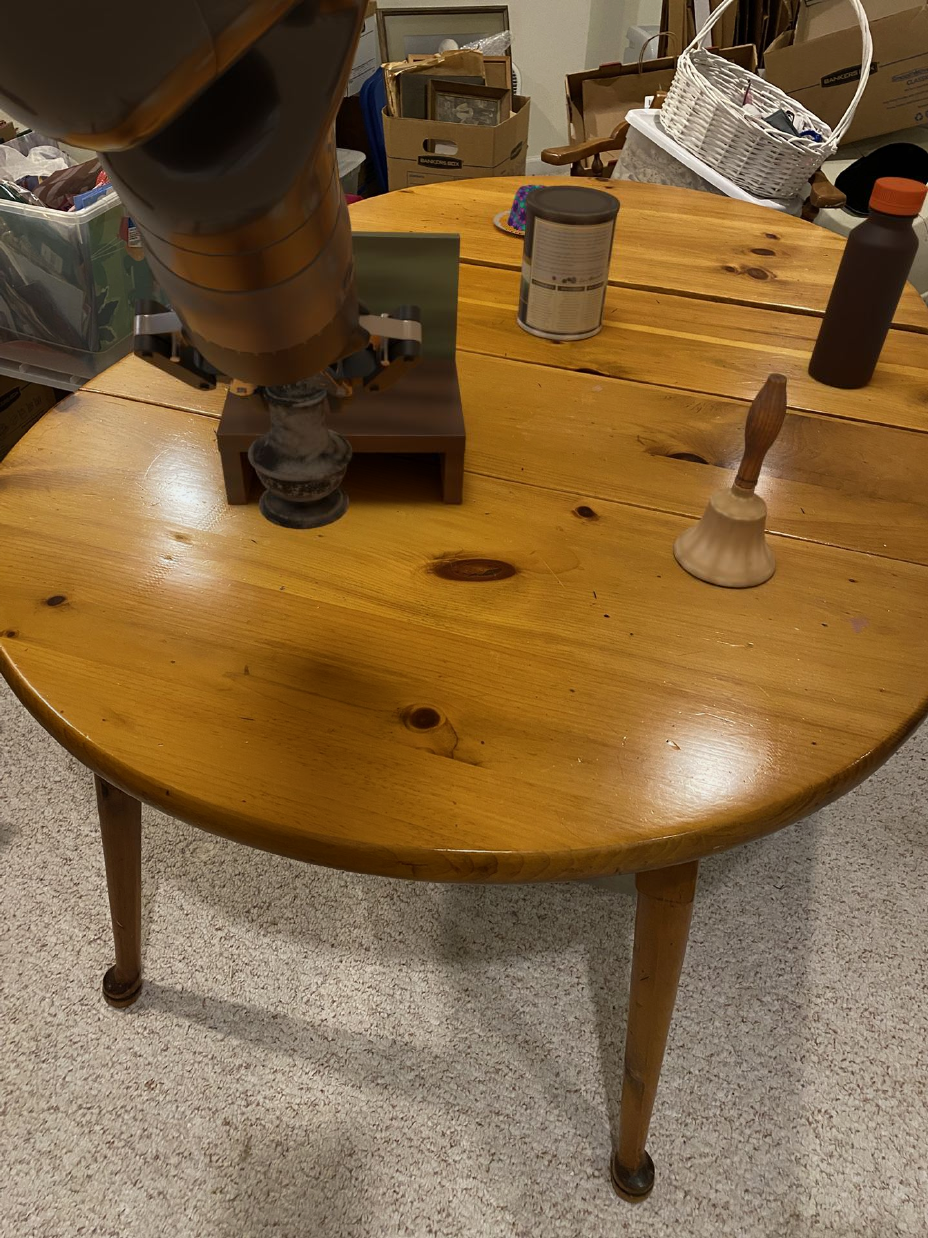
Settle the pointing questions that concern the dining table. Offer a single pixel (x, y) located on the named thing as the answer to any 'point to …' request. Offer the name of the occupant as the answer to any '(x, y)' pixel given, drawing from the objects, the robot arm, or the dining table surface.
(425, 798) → the dining table surface
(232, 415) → the shelf
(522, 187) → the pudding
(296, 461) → the grey turned spindle
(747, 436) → the hand bell
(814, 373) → the bottle
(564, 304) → the coffee can
